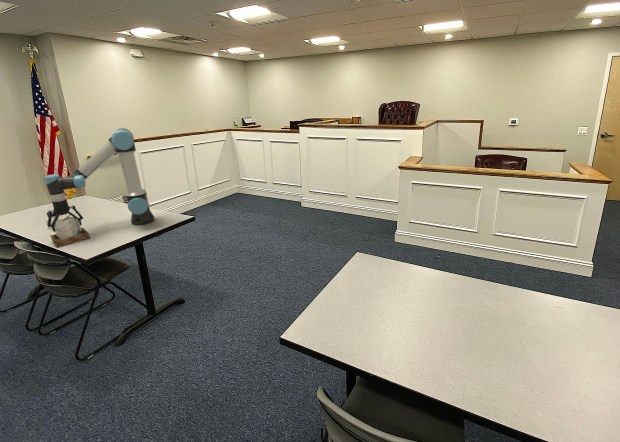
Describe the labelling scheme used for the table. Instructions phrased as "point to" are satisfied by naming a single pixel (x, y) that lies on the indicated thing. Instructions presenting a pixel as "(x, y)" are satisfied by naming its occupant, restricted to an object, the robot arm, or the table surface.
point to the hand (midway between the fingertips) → (69, 233)
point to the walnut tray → (70, 239)
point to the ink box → (67, 227)
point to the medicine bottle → (52, 218)
